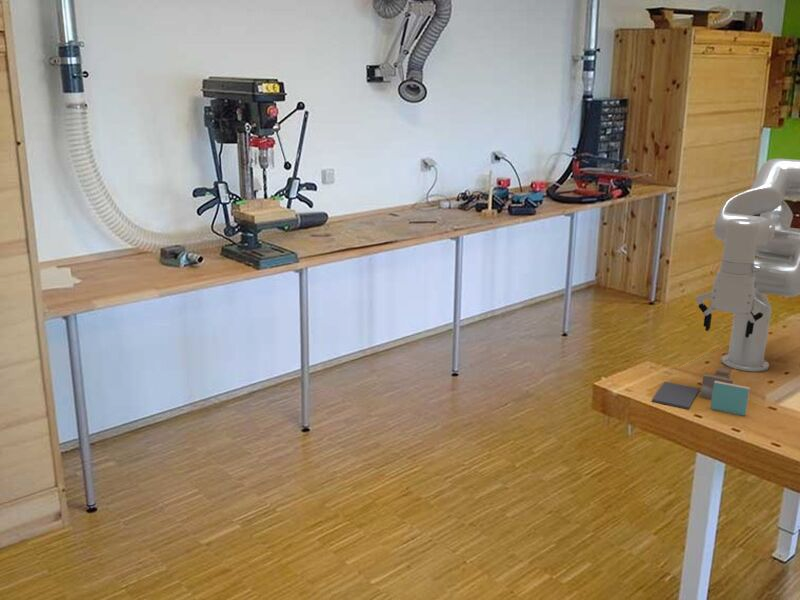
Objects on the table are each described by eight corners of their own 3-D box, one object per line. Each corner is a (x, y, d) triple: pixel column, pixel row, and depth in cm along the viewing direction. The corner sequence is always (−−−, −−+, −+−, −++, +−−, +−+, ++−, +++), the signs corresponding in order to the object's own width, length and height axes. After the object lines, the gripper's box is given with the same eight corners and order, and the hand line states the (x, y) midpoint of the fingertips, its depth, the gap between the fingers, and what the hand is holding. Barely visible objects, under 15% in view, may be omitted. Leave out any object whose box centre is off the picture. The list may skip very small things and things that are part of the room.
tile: (711, 406, 196) (715, 380, 195) (745, 413, 193) (749, 387, 191) (710, 408, 195) (714, 382, 193) (744, 415, 191) (749, 389, 189)
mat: (664, 383, 211) (664, 381, 211) (699, 390, 207) (699, 388, 207) (651, 401, 198) (651, 399, 198) (688, 409, 194) (689, 407, 194)
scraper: (709, 381, 213) (711, 360, 212) (736, 387, 210) (739, 366, 208) (700, 397, 202) (703, 375, 201) (729, 403, 199) (732, 381, 197)
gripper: (775, 270, 197) (765, 335, 201) (703, 261, 205) (694, 323, 209) (772, 275, 190) (761, 342, 195) (698, 265, 199) (689, 330, 203)
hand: (727, 332), depth 202 cm, fingers open, 9 cm apart
